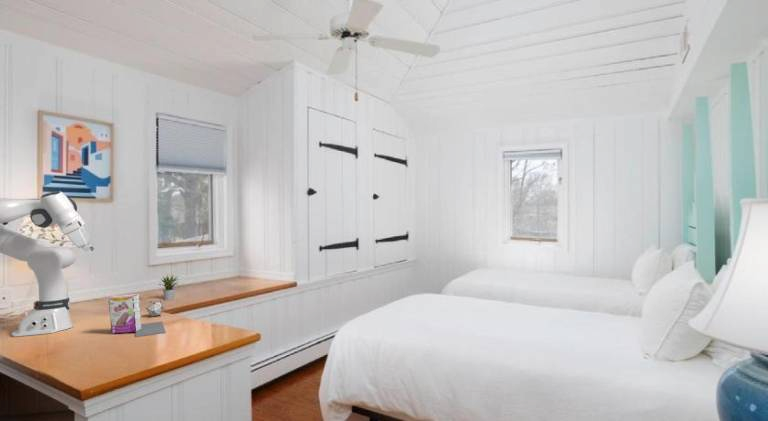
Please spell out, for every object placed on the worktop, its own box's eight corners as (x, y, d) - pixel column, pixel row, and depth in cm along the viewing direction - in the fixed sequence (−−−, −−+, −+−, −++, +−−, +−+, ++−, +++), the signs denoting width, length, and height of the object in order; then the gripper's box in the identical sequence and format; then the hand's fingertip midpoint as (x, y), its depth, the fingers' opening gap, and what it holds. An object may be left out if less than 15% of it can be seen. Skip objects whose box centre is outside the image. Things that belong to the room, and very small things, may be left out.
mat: (135, 337, 186) (135, 336, 186) (135, 325, 207) (135, 324, 207) (165, 332, 192) (165, 331, 192) (162, 322, 213) (162, 321, 213)
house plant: (181, 300, 272) (180, 274, 273) (156, 302, 267) (156, 276, 267) (182, 296, 286) (182, 271, 286) (159, 298, 280) (158, 273, 281)
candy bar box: (110, 334, 192) (107, 298, 192) (117, 331, 197) (114, 295, 197) (136, 332, 193) (133, 295, 192) (142, 329, 198) (139, 293, 197)
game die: (156, 324, 226) (154, 311, 220) (143, 318, 227) (140, 305, 222) (169, 312, 233) (167, 299, 227) (156, 306, 234) (153, 293, 229)
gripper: (68, 226, 195) (86, 252, 199) (61, 231, 177) (81, 259, 181) (82, 219, 197) (100, 244, 201) (77, 224, 180) (97, 252, 184)
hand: (91, 252), depth 191 cm, fingers open, 8 cm apart
